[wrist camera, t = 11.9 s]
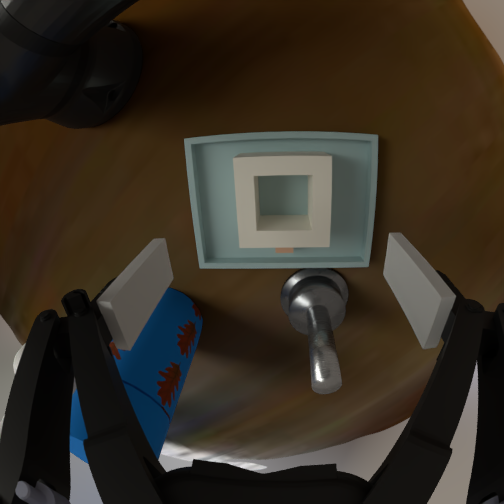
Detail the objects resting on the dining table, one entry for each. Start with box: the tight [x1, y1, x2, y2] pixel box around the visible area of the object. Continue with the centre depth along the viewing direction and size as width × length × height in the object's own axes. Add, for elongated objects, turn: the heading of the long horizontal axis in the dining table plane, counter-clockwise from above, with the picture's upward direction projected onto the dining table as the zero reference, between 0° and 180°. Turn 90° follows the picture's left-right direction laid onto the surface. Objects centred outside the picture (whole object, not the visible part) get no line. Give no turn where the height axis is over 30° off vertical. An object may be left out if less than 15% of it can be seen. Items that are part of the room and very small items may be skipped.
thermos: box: [70, 288, 203, 463], centre depth 29 cm, size 11×11×25 cm
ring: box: [233, 151, 332, 253], centre depth 29 cm, size 11×9×5 cm
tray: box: [184, 131, 378, 268], centre depth 30 cm, size 15×20×2 cm
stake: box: [281, 268, 348, 394], centre depth 30 cm, size 9×9×15 cm
